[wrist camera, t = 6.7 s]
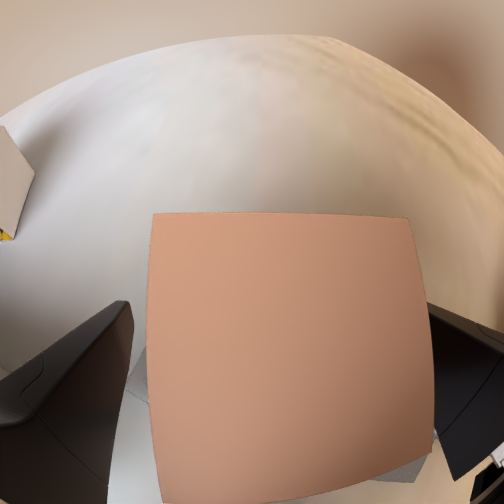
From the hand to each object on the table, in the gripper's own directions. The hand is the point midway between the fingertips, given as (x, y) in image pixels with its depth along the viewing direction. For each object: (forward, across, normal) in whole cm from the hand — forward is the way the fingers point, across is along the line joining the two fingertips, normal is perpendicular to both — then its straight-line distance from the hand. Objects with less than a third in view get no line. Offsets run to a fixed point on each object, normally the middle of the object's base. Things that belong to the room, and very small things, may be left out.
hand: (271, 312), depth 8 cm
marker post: (+4, 0, +6) cm, 8 cm away
